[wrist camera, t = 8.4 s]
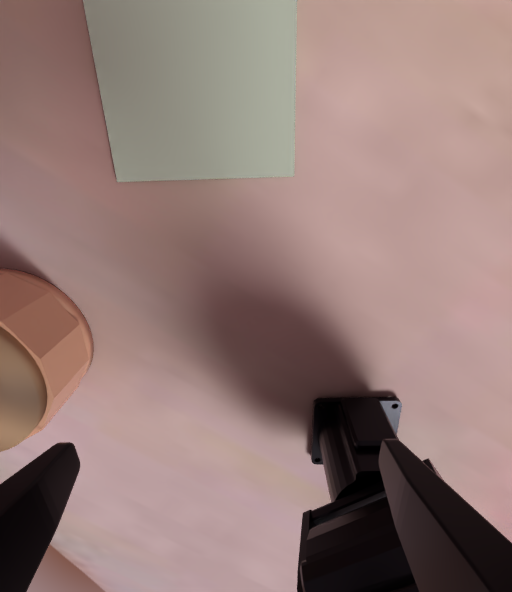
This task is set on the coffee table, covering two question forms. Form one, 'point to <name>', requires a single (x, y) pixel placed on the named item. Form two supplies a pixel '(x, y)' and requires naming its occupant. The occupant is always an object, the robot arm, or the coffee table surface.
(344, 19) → the coffee table surface
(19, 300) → the bowl
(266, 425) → the coffee table surface
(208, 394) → the coffee table surface
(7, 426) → the lid
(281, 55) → the mat
